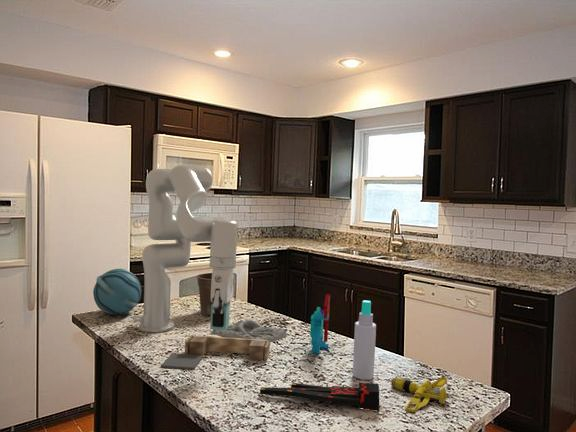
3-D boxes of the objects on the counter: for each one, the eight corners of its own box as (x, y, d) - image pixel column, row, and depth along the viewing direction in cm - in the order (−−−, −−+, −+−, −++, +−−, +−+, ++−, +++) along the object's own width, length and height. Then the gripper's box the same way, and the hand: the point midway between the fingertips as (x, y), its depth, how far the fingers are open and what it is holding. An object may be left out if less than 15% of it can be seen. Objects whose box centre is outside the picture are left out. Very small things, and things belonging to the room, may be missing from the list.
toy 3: (258, 406, 112) (379, 414, 108) (258, 387, 112) (379, 394, 107) (265, 392, 121) (378, 398, 116) (265, 374, 120) (378, 380, 116)
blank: (210, 329, 129) (211, 305, 128) (213, 324, 133) (215, 301, 133) (225, 330, 128) (226, 306, 128) (228, 325, 133) (229, 302, 132)
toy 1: (149, 282, 196) (111, 256, 189) (154, 292, 178) (113, 264, 171) (121, 317, 192) (82, 292, 186) (124, 330, 175) (81, 303, 168)
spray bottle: (348, 373, 131) (352, 299, 130) (365, 370, 134) (369, 298, 133) (360, 381, 126) (363, 304, 125) (377, 378, 128) (381, 303, 127)
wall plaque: (290, 336, 164) (290, 326, 164) (254, 349, 150) (255, 338, 149) (244, 323, 179) (244, 313, 179) (208, 333, 164) (208, 323, 164)
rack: (184, 355, 140) (185, 341, 140) (190, 348, 146) (191, 335, 146) (266, 361, 138) (267, 347, 138) (269, 353, 144) (269, 340, 144)
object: (188, 311, 191) (189, 274, 190) (219, 306, 202) (220, 271, 201) (208, 320, 179) (210, 280, 179) (241, 314, 190) (242, 276, 190)
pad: (160, 367, 130) (160, 365, 130) (172, 355, 140) (172, 353, 140) (194, 369, 129) (194, 367, 129) (203, 357, 139) (203, 355, 139)
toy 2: (324, 326, 136) (330, 289, 147) (305, 324, 137) (312, 288, 149) (326, 361, 148) (331, 324, 159) (309, 359, 149) (315, 322, 160)
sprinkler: (404, 362, 130) (456, 375, 120) (404, 375, 130) (457, 389, 121) (373, 393, 114) (431, 411, 105) (374, 408, 115) (431, 426, 106)
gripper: (229, 268, 121) (226, 334, 122) (240, 258, 137) (238, 316, 139) (202, 266, 121) (199, 332, 122) (217, 256, 138) (214, 314, 139)
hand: (220, 323), depth 131 cm, fingers closed on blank, 4 cm apart
